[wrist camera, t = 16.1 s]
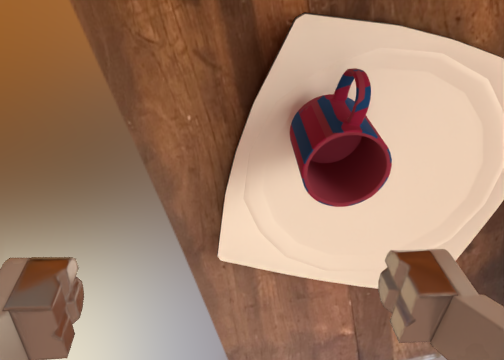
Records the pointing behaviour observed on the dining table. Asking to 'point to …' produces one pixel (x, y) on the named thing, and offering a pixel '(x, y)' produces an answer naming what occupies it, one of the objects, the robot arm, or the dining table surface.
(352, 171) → the mug
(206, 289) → the dining table surface
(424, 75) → the plate
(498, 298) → the dining table surface
